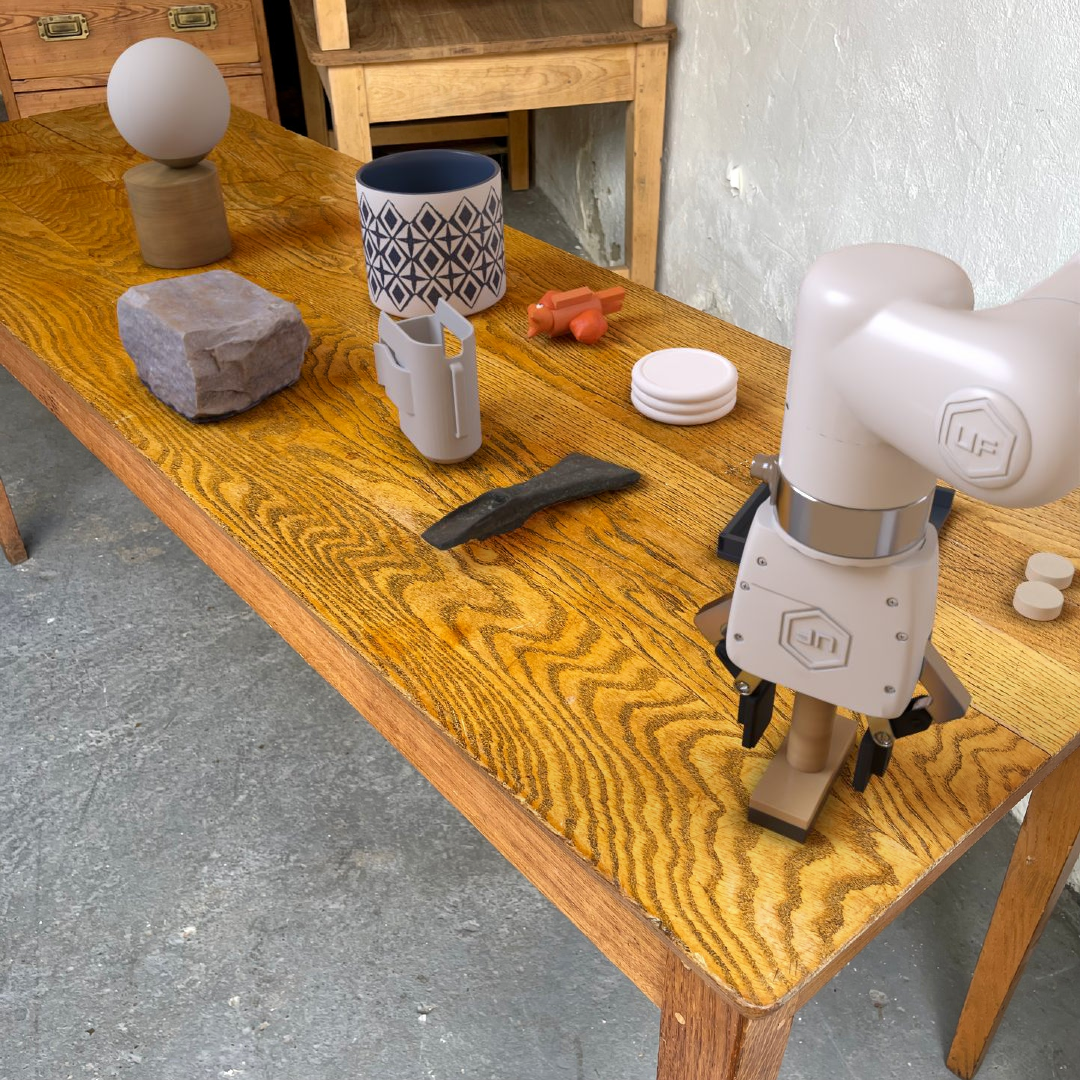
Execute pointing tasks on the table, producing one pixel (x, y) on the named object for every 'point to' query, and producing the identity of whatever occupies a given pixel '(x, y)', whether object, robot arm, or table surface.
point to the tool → (527, 500)
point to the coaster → (684, 386)
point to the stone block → (211, 342)
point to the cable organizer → (432, 382)
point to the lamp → (173, 150)
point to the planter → (432, 231)
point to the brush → (803, 769)
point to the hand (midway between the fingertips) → (810, 752)
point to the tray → (739, 525)
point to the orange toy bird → (574, 313)
